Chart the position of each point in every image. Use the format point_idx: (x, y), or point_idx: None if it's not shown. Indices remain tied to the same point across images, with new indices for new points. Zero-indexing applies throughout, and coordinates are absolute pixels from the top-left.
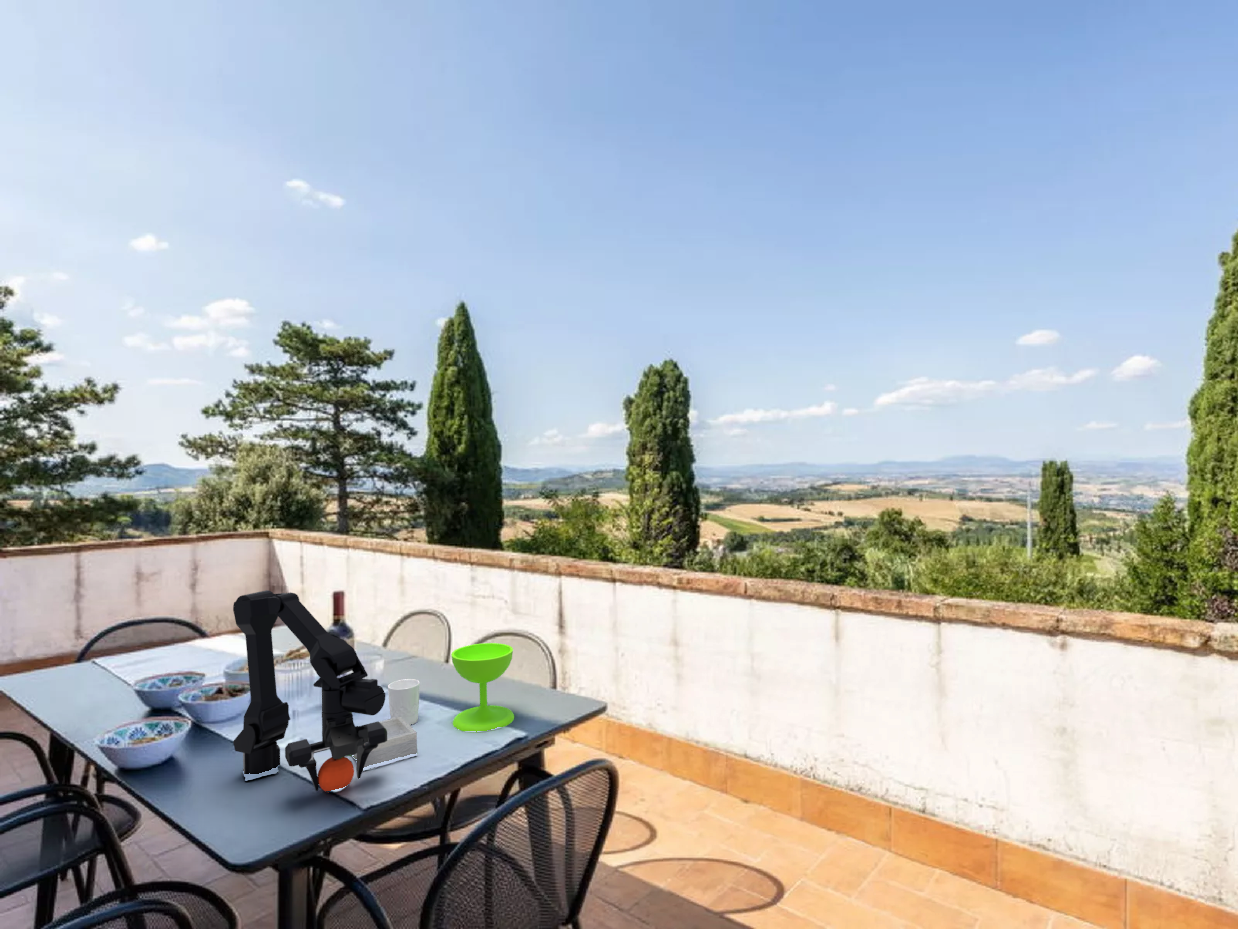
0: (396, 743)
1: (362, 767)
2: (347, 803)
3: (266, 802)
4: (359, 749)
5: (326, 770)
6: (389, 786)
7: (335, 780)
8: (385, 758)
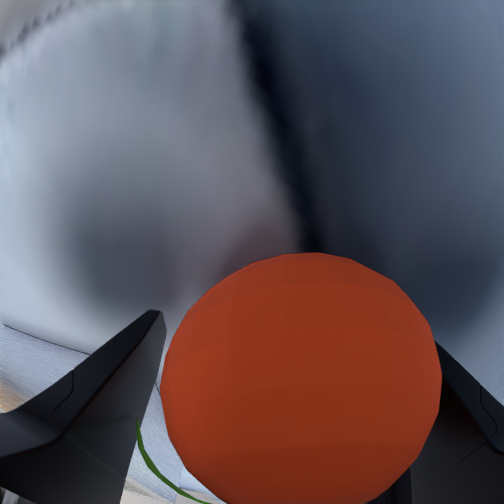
0: (11, 392)
1: (104, 353)
2: (293, 85)
3: (488, 354)
4: (91, 483)
5: (430, 422)
6: (34, 160)
7: (376, 297)
8: (60, 369)
